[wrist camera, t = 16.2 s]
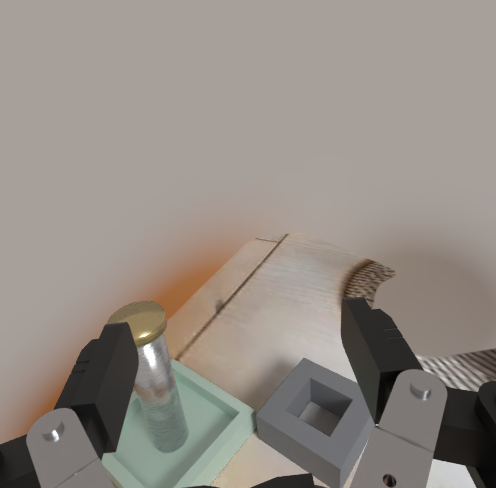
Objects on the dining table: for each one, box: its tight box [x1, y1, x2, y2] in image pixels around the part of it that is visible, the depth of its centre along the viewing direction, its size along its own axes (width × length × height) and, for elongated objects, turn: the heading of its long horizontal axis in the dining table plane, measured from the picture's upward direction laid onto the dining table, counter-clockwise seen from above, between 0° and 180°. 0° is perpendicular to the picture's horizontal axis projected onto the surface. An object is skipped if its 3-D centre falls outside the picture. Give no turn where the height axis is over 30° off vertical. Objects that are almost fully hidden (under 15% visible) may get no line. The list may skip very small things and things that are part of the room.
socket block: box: [256, 358, 376, 488], centre depth 41 cm, size 10×10×4 cm
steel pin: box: [107, 301, 189, 453], centre depth 38 cm, size 5×5×17 cm
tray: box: [101, 359, 257, 488], centre depth 42 cm, size 14×14×3 cm
